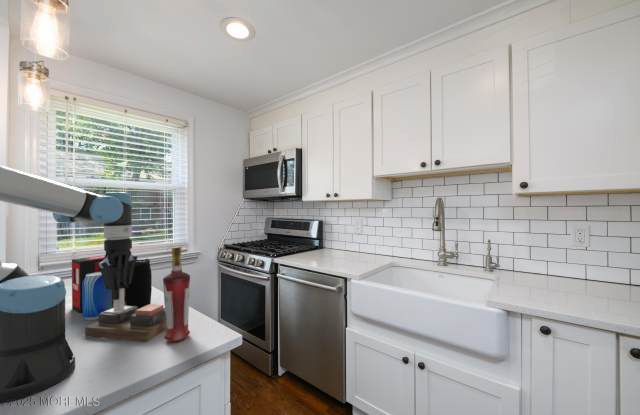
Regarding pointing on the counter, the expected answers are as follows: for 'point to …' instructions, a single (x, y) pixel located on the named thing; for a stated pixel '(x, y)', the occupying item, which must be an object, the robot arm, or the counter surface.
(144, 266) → the black tapered cylinder
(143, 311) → the brick-red key
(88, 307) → the blue striped container
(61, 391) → the counter surface
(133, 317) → the key panel
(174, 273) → the liquor
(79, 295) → the cleaning product box
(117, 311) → the off-white key
